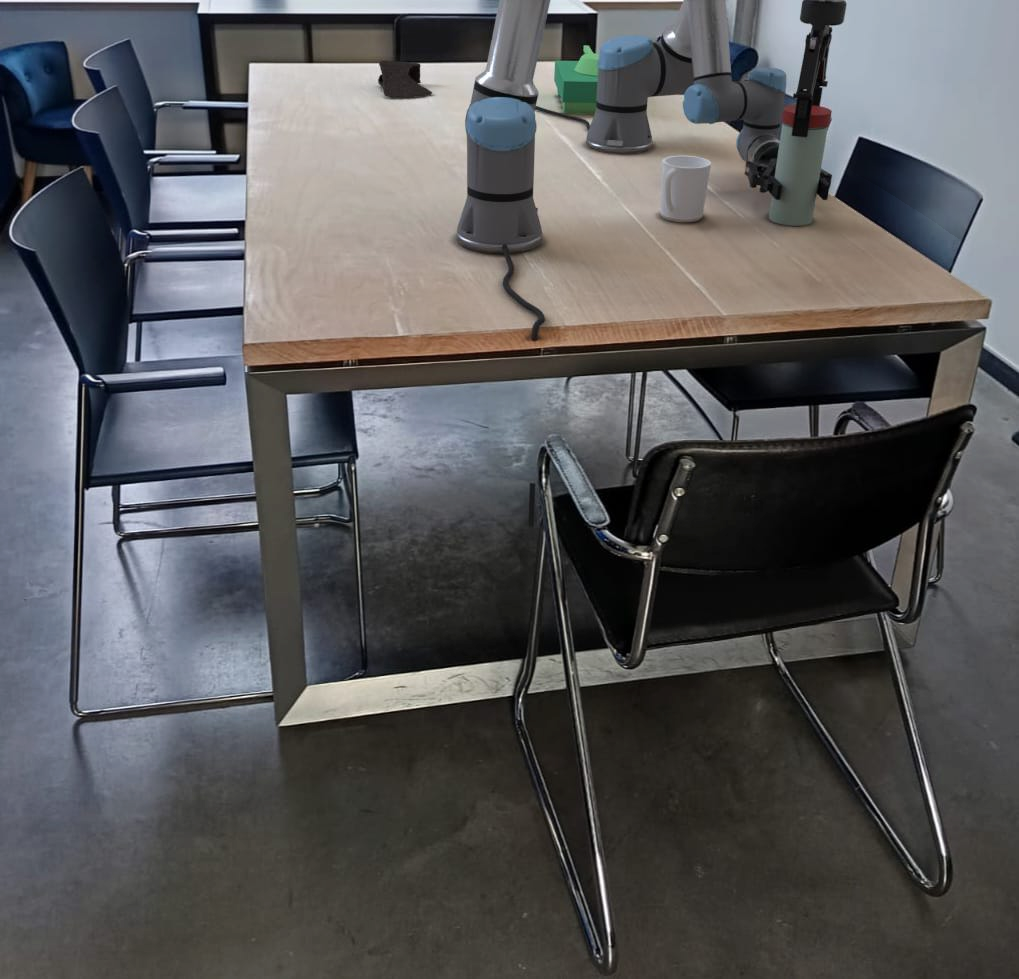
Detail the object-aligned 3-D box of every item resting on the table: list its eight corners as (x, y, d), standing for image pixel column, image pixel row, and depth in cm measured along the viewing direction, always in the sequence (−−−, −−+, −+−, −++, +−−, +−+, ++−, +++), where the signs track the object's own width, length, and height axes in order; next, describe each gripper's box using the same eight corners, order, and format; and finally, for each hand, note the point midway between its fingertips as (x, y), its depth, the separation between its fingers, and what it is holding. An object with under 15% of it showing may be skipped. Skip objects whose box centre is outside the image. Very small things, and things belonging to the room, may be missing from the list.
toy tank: (617, 42, 302) (635, 66, 272) (613, 88, 309) (631, 117, 279) (553, 40, 301) (564, 65, 271) (551, 87, 308) (562, 116, 278)
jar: (778, 226, 206) (795, 119, 195) (762, 213, 213) (777, 108, 202) (819, 225, 207) (837, 117, 197) (801, 211, 214) (818, 107, 204)
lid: (833, 129, 196) (835, 116, 195) (784, 127, 197) (786, 114, 196) (825, 118, 204) (828, 105, 203) (779, 116, 204) (780, 103, 203)
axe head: (443, 87, 294) (392, 77, 287) (436, 115, 299) (385, 106, 292) (421, 62, 307) (371, 52, 300) (414, 89, 311) (365, 80, 304)
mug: (673, 205, 215) (679, 152, 210) (713, 215, 210) (719, 161, 205) (642, 218, 208) (647, 164, 202) (683, 229, 203) (689, 173, 197)
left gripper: (837, 8, 179) (815, 146, 191) (855, -8, 197) (834, 118, 209) (791, 5, 182) (772, 141, 193) (813, -11, 200) (794, 114, 211)
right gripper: (818, 178, 224) (854, 212, 205) (717, 178, 223) (744, 212, 204) (824, 141, 220) (862, 172, 201) (721, 140, 219) (749, 172, 200)
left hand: (804, 129), depth 201 cm, fingers open, 10 cm apart
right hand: (802, 192), depth 202 cm, fingers closed on jar, 8 cm apart
